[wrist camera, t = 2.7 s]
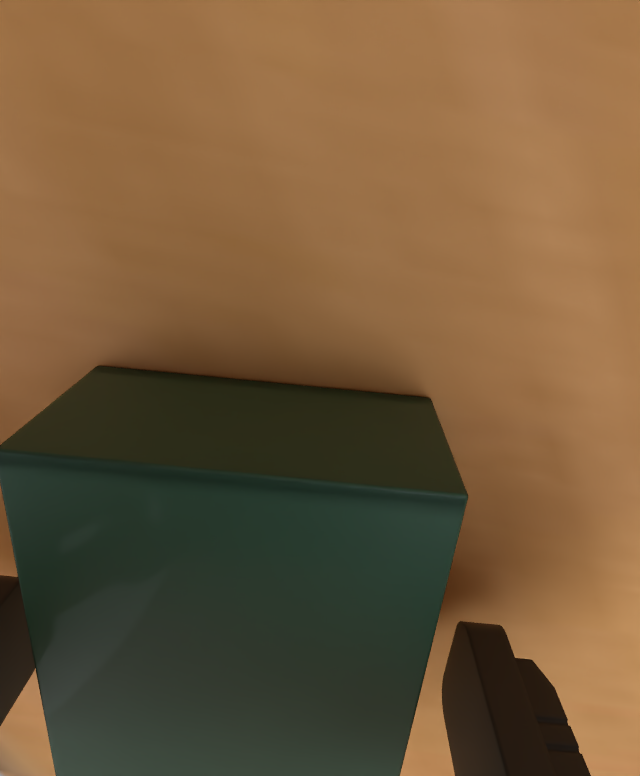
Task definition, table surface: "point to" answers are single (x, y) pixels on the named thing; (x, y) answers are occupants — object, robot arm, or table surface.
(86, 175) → the table surface
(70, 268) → the table surface
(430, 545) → the notebook
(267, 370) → the table surface
